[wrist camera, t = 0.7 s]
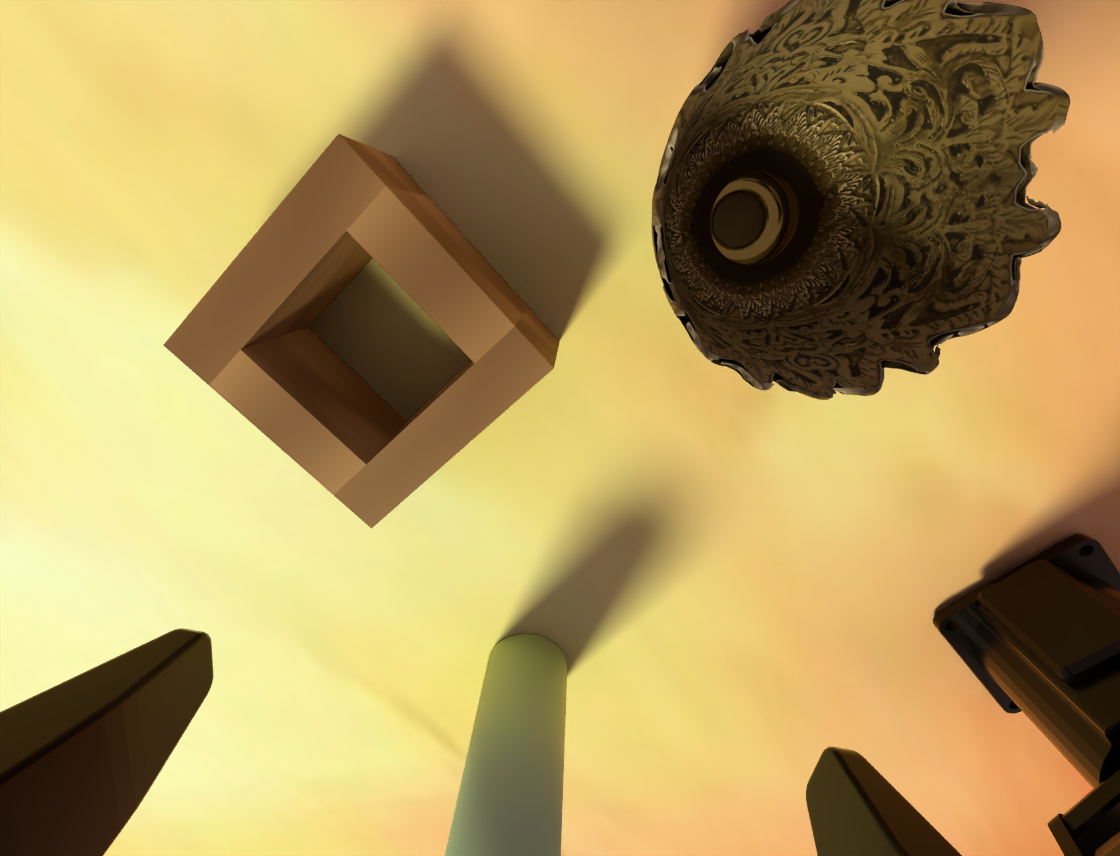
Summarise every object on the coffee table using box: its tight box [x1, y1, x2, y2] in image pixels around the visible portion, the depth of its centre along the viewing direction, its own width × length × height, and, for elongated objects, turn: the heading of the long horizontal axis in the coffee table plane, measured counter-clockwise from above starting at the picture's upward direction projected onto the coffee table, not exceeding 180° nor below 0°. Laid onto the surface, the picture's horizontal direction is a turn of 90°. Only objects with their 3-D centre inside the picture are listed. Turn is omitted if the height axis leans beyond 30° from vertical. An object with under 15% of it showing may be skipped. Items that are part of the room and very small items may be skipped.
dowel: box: [445, 634, 567, 856], centre depth 20 cm, size 4×4×9 cm
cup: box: [652, 0, 1070, 400], centre depth 13 cm, size 8×7×8 cm
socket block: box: [164, 134, 559, 528], centre depth 17 cm, size 8×8×4 cm
